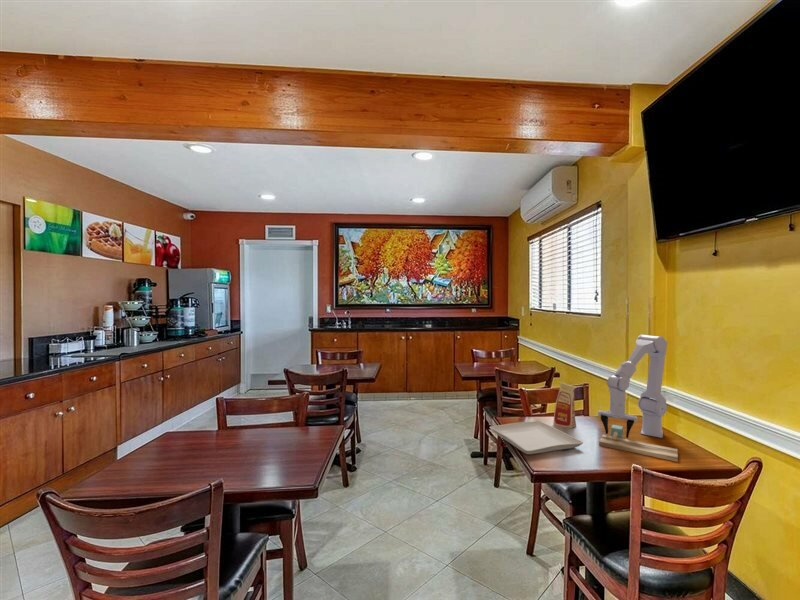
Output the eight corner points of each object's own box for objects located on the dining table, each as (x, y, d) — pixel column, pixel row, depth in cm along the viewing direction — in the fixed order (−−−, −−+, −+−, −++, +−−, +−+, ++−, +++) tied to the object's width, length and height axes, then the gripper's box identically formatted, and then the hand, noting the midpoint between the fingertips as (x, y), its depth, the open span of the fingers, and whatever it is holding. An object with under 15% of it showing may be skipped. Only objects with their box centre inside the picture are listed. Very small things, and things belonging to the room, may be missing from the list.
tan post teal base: (612, 435, 167) (612, 424, 167) (622, 437, 164) (623, 426, 164) (608, 444, 157) (608, 432, 157) (619, 446, 154) (620, 434, 154)
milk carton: (553, 425, 180) (553, 383, 180) (557, 419, 187) (558, 379, 187) (574, 429, 175) (574, 385, 174) (577, 423, 182) (578, 382, 182)
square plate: (488, 434, 168) (488, 425, 168) (539, 428, 176) (539, 419, 176) (526, 459, 142) (526, 449, 142) (584, 451, 151) (584, 441, 151)
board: (602, 437, 164) (602, 434, 164) (677, 452, 149) (677, 448, 149) (599, 445, 156) (599, 441, 156) (677, 461, 141) (677, 457, 141)
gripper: (597, 402, 164) (596, 434, 164) (636, 409, 156) (636, 441, 156) (599, 399, 170) (599, 429, 170) (637, 405, 161) (637, 436, 162)
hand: (616, 435), depth 163 cm, fingers open, 7 cm apart
